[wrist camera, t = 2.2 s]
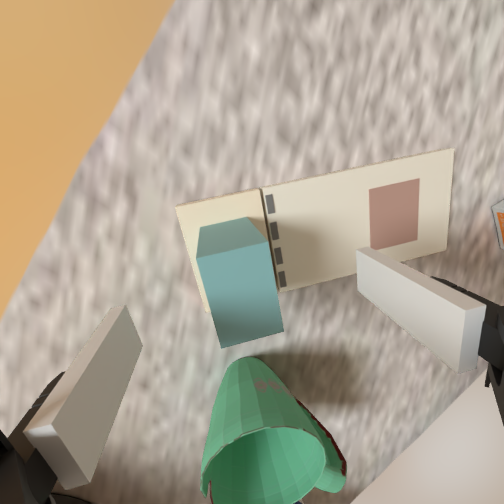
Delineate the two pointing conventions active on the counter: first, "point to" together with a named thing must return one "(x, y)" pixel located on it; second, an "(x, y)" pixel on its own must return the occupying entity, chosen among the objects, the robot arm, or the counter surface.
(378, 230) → the ticket
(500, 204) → the skincare box
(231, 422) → the mug
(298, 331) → the counter surface
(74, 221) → the counter surface
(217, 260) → the stub
